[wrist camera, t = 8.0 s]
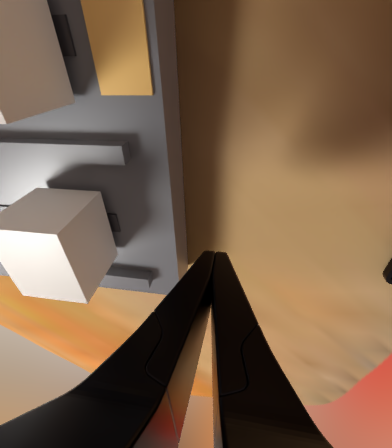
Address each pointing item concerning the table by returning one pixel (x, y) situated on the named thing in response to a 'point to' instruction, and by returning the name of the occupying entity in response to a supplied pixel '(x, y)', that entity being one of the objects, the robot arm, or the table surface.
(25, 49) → the tab
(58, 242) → the tab
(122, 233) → the switch bank
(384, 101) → the table surface
